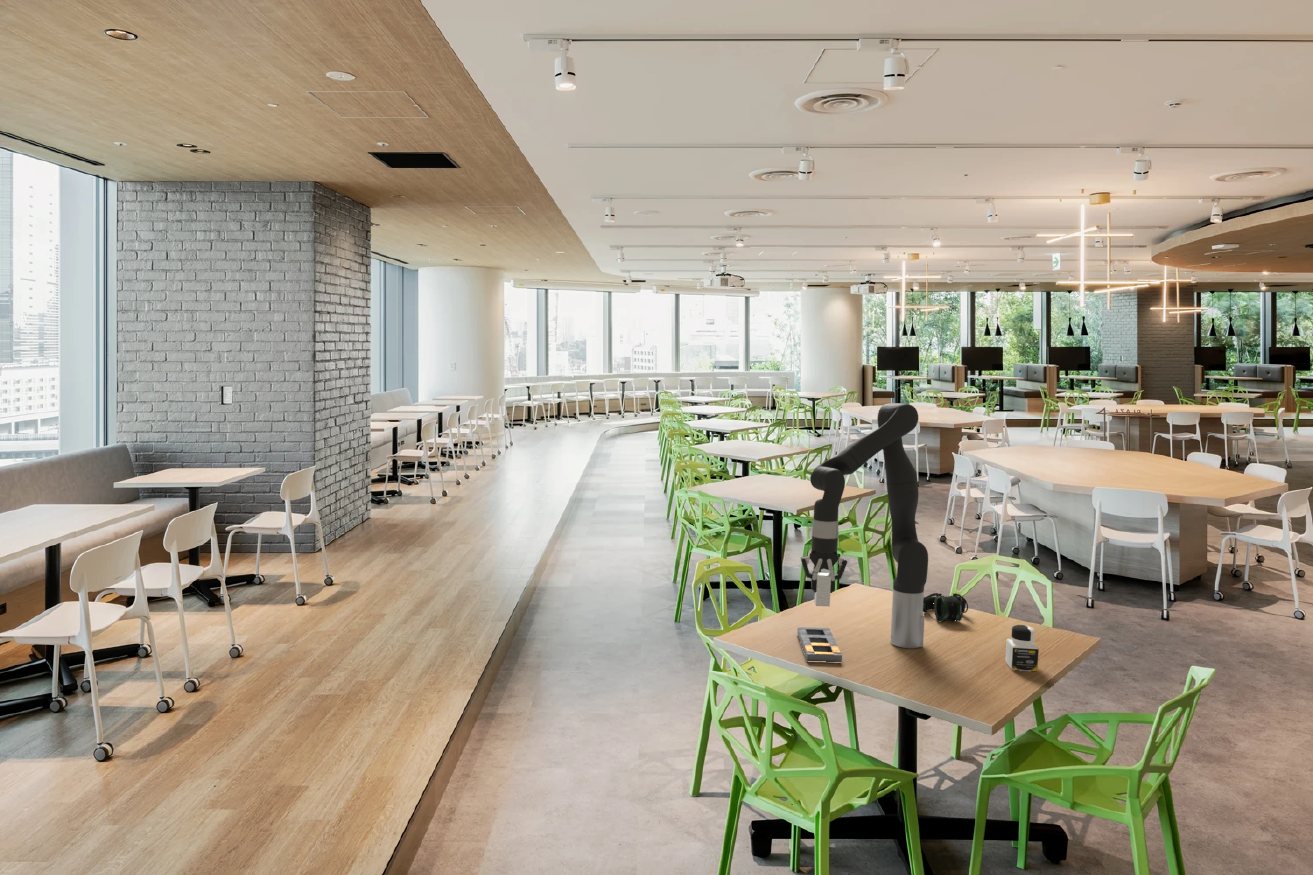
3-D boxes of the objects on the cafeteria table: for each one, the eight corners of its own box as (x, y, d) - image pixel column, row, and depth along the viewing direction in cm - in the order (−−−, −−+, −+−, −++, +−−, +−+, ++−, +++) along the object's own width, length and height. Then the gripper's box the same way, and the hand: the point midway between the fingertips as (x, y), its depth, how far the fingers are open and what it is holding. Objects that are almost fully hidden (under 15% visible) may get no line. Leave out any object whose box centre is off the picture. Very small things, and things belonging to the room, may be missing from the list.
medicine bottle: (1011, 670, 244) (1013, 629, 243) (1004, 661, 251) (1007, 622, 250) (1037, 672, 243) (1040, 631, 242) (1030, 663, 250) (1032, 623, 249)
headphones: (984, 609, 285) (959, 601, 305) (955, 580, 285) (933, 574, 305) (956, 637, 284) (934, 628, 304) (928, 609, 284) (907, 601, 304)
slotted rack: (828, 635, 272) (829, 627, 272) (841, 663, 247) (841, 654, 247) (797, 634, 273) (797, 626, 273) (806, 662, 248) (807, 653, 248)
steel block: (827, 602, 254) (829, 573, 253) (829, 606, 250) (831, 576, 249) (814, 602, 254) (815, 572, 254) (815, 605, 250) (817, 575, 250)
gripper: (847, 533, 253) (844, 589, 255) (799, 531, 255) (797, 587, 256) (851, 538, 246) (848, 596, 248) (801, 536, 247) (799, 594, 249)
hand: (822, 591), depth 252 cm, fingers closed on steel block, 4 cm apart
